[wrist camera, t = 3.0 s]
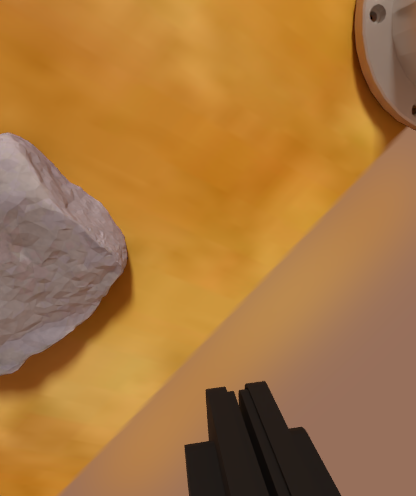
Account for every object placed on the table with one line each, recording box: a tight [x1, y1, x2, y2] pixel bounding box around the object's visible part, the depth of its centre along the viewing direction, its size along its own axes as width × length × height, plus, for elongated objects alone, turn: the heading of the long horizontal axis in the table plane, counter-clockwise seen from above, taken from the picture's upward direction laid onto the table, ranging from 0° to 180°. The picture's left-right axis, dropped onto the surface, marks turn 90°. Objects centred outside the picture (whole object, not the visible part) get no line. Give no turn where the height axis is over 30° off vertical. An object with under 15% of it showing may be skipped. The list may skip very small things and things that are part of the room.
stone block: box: [0, 133, 128, 376], centre depth 21 cm, size 12×5×10 cm
